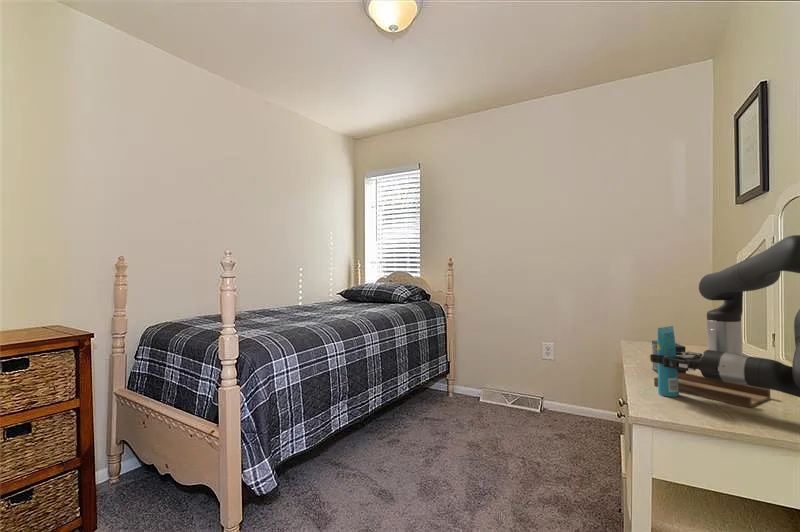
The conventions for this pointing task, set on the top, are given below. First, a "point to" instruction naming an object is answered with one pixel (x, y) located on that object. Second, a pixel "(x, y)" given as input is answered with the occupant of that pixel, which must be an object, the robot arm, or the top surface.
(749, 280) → the robot arm
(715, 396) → the brown wooden tray
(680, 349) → the small box
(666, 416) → the top surface
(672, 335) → the tube
